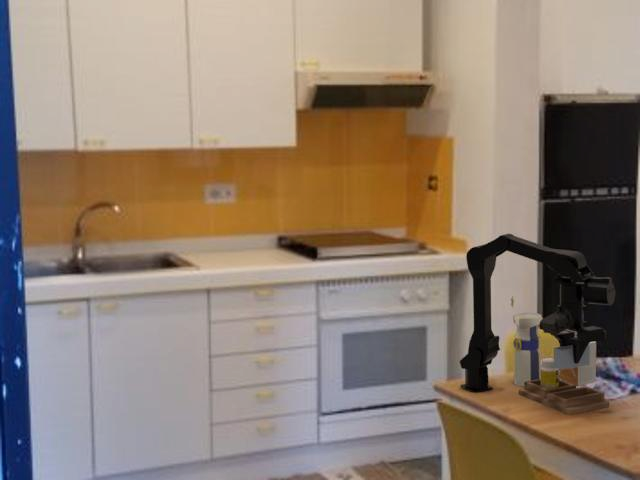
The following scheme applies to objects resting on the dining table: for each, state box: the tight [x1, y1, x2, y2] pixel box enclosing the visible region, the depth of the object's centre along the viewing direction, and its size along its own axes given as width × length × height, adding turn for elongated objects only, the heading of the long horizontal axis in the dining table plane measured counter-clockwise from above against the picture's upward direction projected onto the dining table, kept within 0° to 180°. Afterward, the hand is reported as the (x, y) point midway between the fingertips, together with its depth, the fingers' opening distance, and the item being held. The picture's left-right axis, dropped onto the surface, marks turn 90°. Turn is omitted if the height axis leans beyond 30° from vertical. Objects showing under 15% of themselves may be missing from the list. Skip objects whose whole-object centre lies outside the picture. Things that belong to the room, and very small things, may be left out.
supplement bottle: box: [541, 357, 559, 389], centre depth 237 cm, size 5×5×8 cm
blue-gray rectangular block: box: [553, 345, 590, 370], centre depth 227 cm, size 3×9×5 cm, turn 115°
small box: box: [559, 341, 597, 387], centre depth 245 cm, size 8×6×13 cm
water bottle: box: [510, 295, 543, 387], centre depth 247 cm, size 8×9×25 cm
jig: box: [517, 379, 610, 416], centre depth 233 cm, size 20×13×3 cm, turn 26°
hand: (572, 362), depth 227 cm, fingers closed on blue-gray rectangular block, 3 cm apart
